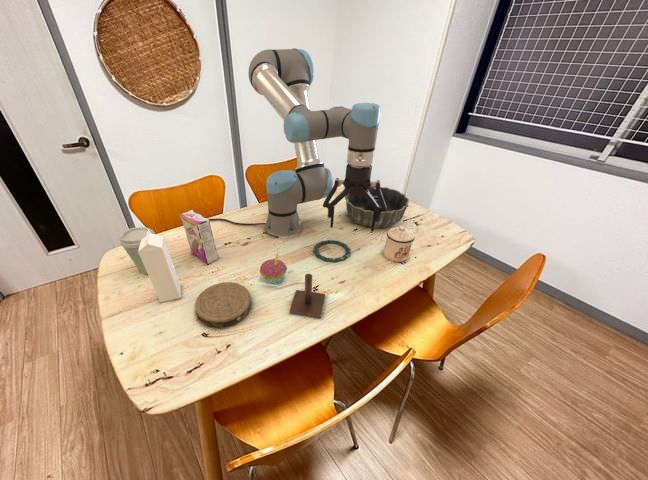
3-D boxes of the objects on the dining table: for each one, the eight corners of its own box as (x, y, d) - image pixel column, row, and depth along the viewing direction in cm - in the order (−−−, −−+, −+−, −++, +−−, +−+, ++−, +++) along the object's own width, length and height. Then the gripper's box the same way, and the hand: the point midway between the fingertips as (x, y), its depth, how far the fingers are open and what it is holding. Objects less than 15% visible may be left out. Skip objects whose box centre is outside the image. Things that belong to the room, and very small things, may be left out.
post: (289, 313, 80) (288, 284, 73) (296, 292, 87) (295, 264, 80) (320, 318, 78) (322, 289, 71) (324, 296, 85) (327, 267, 78)
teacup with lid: (394, 265, 96) (402, 237, 89) (377, 252, 103) (382, 224, 96) (419, 256, 101) (428, 228, 93) (401, 244, 107) (408, 216, 100)
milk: (160, 302, 84) (132, 241, 71) (161, 289, 89) (135, 230, 75) (181, 298, 85) (157, 237, 72) (181, 285, 90) (159, 226, 76)
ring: (310, 261, 99) (310, 257, 98) (316, 241, 110) (316, 237, 108) (349, 266, 97) (349, 262, 96) (351, 245, 107) (351, 241, 106)
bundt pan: (373, 241, 109) (377, 218, 103) (330, 215, 126) (332, 194, 120) (416, 222, 120) (423, 200, 114) (372, 201, 138) (375, 181, 132)
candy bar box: (190, 253, 105) (178, 214, 95) (202, 247, 107) (191, 209, 97) (207, 265, 99) (196, 224, 88) (219, 259, 101) (210, 219, 91)
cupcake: (291, 275, 93) (290, 245, 86) (279, 291, 87) (277, 260, 80) (268, 269, 96) (266, 240, 89) (256, 284, 90) (252, 254, 83)
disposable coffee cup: (159, 256, 103) (145, 220, 94) (172, 269, 97) (159, 232, 88) (129, 269, 97) (112, 232, 88) (141, 283, 91) (124, 245, 82)
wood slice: (186, 309, 82) (183, 302, 80) (229, 282, 91) (227, 275, 89) (218, 338, 73) (216, 331, 71) (262, 305, 82) (261, 298, 81)
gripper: (315, 166, 81) (313, 229, 94) (405, 170, 77) (390, 236, 89) (319, 158, 87) (317, 219, 100) (402, 162, 82) (389, 225, 95)
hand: (351, 227), depth 95 cm, fingers open, 13 cm apart
